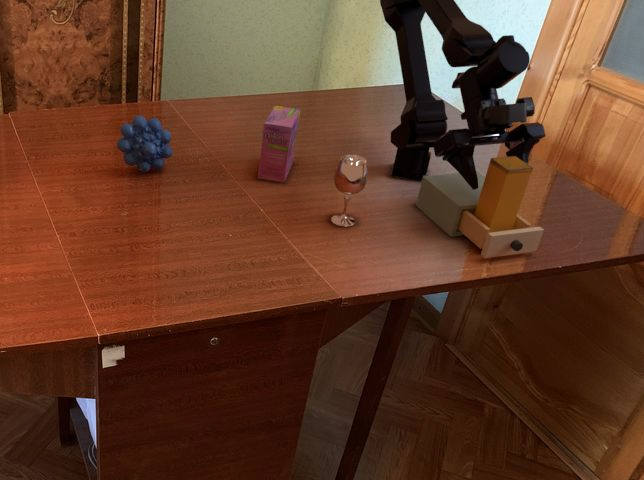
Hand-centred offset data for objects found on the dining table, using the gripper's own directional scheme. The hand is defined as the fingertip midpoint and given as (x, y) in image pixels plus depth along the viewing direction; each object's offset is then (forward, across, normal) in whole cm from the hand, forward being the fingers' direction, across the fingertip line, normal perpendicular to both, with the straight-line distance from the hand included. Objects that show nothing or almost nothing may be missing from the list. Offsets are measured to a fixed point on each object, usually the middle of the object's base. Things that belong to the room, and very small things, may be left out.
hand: (499, 186), depth 131 cm
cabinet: (+2, 0, +13) cm, 13 cm away
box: (-17, -27, +32) cm, 45 cm away
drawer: (+8, 0, +4) cm, 9 cm away
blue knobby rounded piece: (-20, -54, +35) cm, 67 cm away
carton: (+7, 0, +5) cm, 8 cm away
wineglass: (-1, -22, +15) cm, 27 cm away
